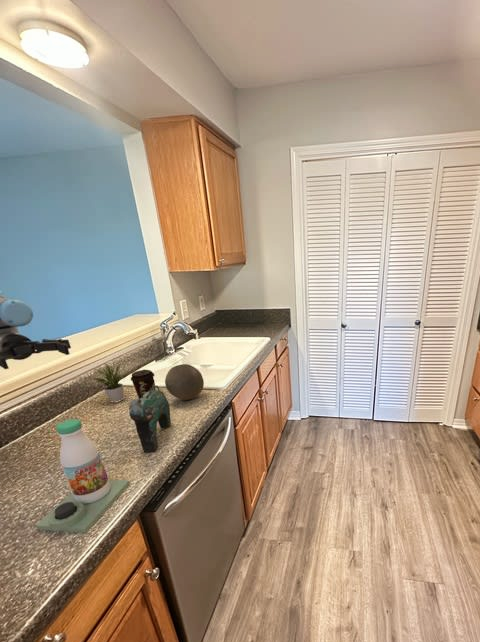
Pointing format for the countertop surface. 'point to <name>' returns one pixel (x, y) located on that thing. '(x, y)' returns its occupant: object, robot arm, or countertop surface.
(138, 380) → the coffee cup
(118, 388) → the house plant
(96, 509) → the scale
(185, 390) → the dark brown ball
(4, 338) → the robot arm
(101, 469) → the milk bottle
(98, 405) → the countertop surface
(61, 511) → the tare button
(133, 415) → the teal painted figure
